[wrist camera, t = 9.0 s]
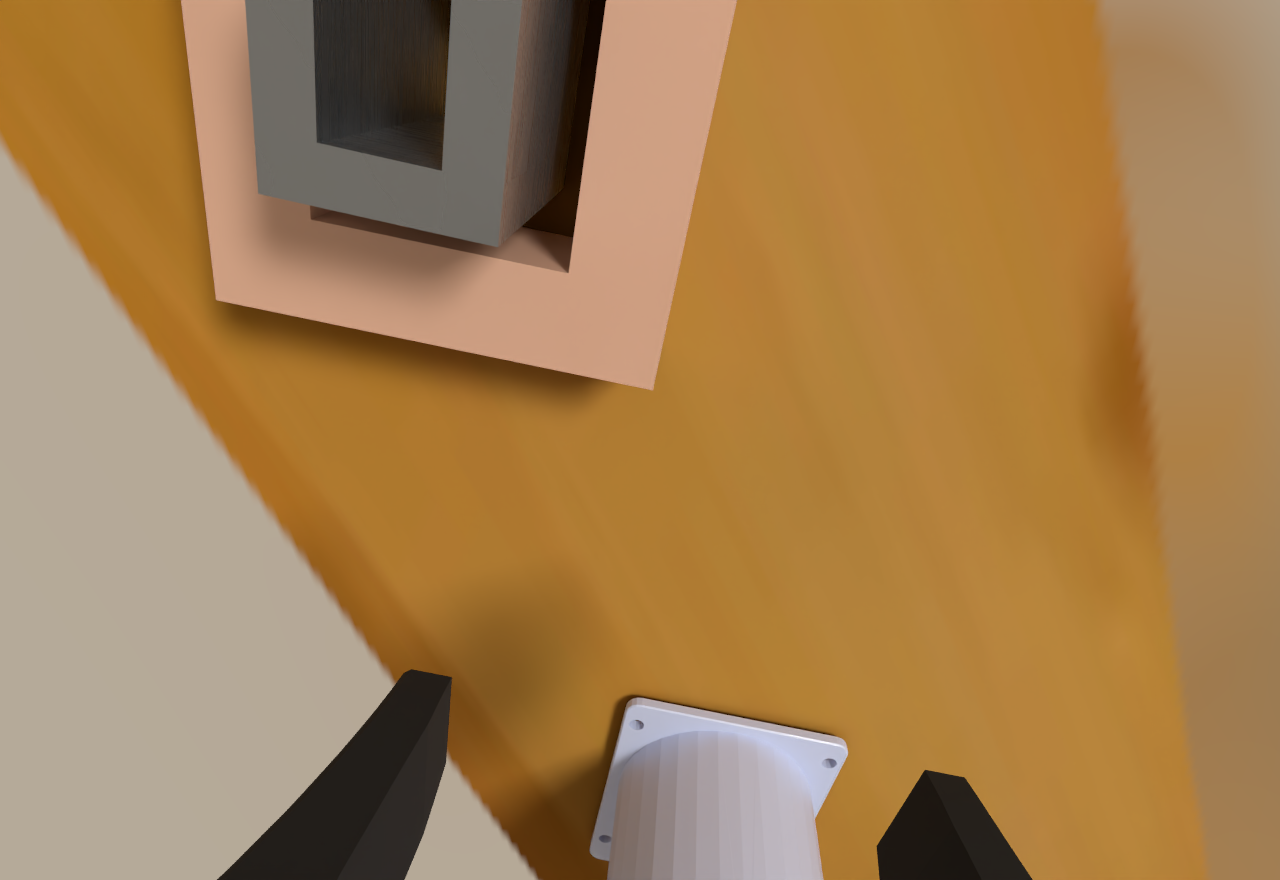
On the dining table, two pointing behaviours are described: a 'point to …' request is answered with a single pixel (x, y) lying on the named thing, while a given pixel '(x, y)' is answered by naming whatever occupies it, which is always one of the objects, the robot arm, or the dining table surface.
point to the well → (473, 272)
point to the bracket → (416, 108)
